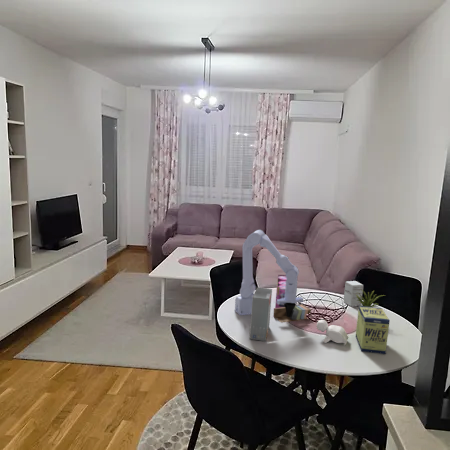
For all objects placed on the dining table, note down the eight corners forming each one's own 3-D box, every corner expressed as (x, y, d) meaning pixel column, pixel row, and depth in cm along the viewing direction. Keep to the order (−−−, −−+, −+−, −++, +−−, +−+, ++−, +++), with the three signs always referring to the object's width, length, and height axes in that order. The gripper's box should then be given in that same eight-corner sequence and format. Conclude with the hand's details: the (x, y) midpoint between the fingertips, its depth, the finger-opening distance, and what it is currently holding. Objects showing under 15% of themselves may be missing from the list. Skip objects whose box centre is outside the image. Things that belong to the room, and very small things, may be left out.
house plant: (378, 316, 220) (381, 287, 217) (385, 327, 206) (389, 296, 204) (351, 314, 221) (354, 285, 218) (356, 324, 208) (359, 293, 205)
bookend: (291, 319, 207) (293, 310, 207) (285, 314, 212) (287, 306, 212) (296, 320, 208) (298, 311, 208) (289, 315, 214) (292, 307, 213)
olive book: (296, 319, 208) (299, 309, 208) (290, 314, 214) (293, 305, 213) (299, 319, 209) (302, 310, 208) (293, 315, 214) (295, 306, 214)
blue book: (300, 319, 209) (302, 309, 208) (294, 314, 214) (296, 305, 214) (303, 319, 210) (305, 309, 209) (297, 314, 215) (299, 305, 214)
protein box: (361, 351, 179) (365, 318, 176) (354, 336, 194) (358, 305, 191) (386, 354, 178) (390, 320, 175) (377, 338, 193) (381, 307, 190)
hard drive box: (266, 342, 184) (269, 299, 180) (249, 339, 185) (251, 297, 182) (269, 327, 199) (272, 288, 195) (253, 325, 200) (256, 286, 197)
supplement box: (342, 302, 239) (345, 281, 237) (353, 301, 242) (356, 280, 239) (350, 306, 232) (352, 285, 230) (361, 305, 235) (363, 284, 232)
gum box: (289, 313, 219) (291, 288, 216) (274, 311, 220) (276, 287, 218) (289, 297, 242) (291, 275, 240) (276, 296, 243) (277, 274, 241)
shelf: (281, 323, 204) (281, 313, 203) (273, 317, 212) (274, 307, 211) (310, 319, 211) (310, 309, 210) (301, 314, 218) (302, 303, 217)
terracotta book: (303, 318, 210) (305, 309, 209) (297, 314, 215) (299, 305, 214) (306, 318, 210) (308, 309, 210) (300, 314, 216) (302, 305, 215)
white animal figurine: (343, 345, 191) (314, 327, 196) (352, 330, 189) (322, 313, 193) (340, 353, 183) (310, 334, 188) (349, 338, 181) (319, 319, 185)
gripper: (282, 294, 201) (280, 320, 203) (307, 292, 206) (305, 317, 209) (275, 289, 207) (273, 315, 209) (299, 287, 213) (297, 312, 215)
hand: (288, 316), depth 209 cm, fingers closed, pressing on bookend
